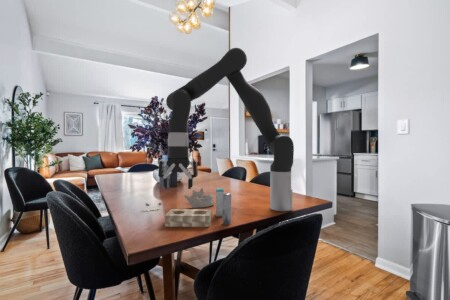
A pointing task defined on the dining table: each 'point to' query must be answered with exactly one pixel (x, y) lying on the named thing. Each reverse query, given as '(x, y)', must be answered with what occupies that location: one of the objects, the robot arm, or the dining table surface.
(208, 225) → the socket block
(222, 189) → the square bit
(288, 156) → the robot arm
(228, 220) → the round bit
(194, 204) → the grey spiky piece
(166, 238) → the dining table surface
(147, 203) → the diorama
